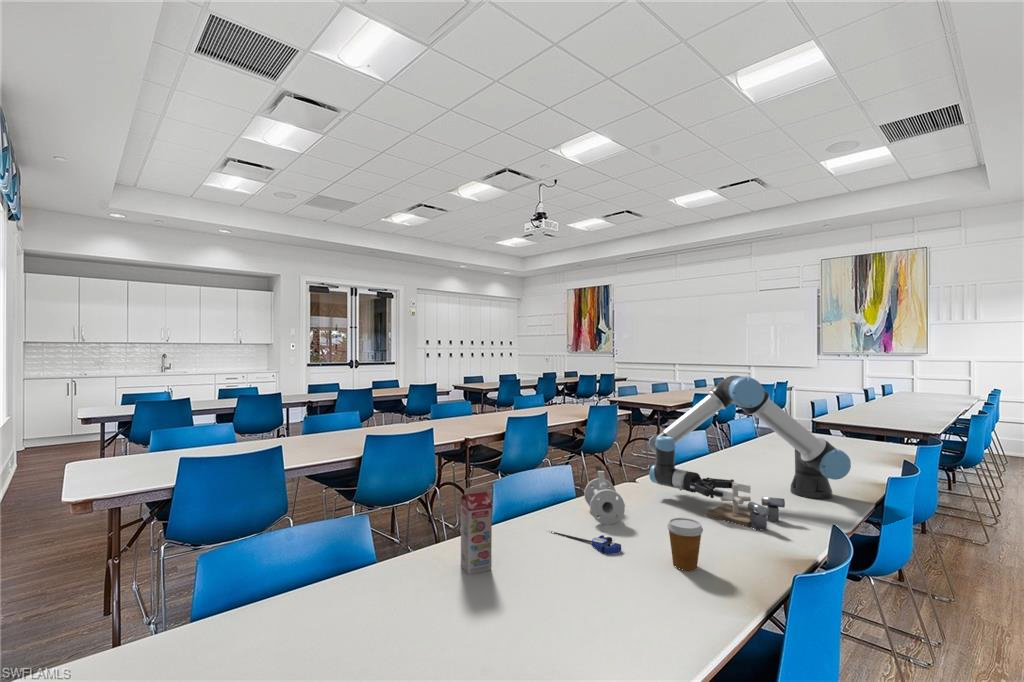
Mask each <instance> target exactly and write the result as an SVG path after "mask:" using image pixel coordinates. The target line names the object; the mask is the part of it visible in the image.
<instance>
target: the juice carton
mask: <svg viewBox="0 0 1024 682" xmlns="http://www.w3.org/2000/svg"><path fill="white" fill-rule="evenodd" d="M492 503H493V502H492V499H491V497H490V495H489V493H488V485H485V486H476V487H467V488H464V494H463V495H461V497H460V565H461V567H462V568H463V570H464V571H465V572H466V574H467V575H472V574H473V575H474V574H477V573H483V571H484V572H489V571H492V541H493V540H492V528H493V527H492V523H493V522H492V521H493V519H492V516H493V515H492V510H493V509H492V508H493V507H492V506H493V504H492ZM488 570H489V571H488Z"/></svg>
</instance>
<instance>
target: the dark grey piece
mask: <svg viewBox="0 0 1024 682" xmlns="http://www.w3.org/2000/svg"><path fill="white" fill-rule="evenodd" d="M747 509H749V510H751V511H753V512H750V526H749V528H751V527H752V528H751V529H753V528H754V529H756V530H755V531H761V530H760V529H767V528H768V527H767V524H768V523H767V520H768V518H767V516H768V515H769V510H768V509H767V507H766V506H762V504H759V503H756V502H754V501H748V503H747ZM754 529H753V530H754Z"/></svg>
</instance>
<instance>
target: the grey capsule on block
mask: <svg viewBox="0 0 1024 682" xmlns="http://www.w3.org/2000/svg"><path fill="white" fill-rule="evenodd" d="M785 503H786V502H785V498H778V497H769V496H761V506H763V507H766V508H767V509H768V510H769V515H768V516H767V520H768V522H769V523H775V522H778V523H777V524H779V523H780V522H779V521H780V518H779V517H780V515H779V514H780V510H779V508H785V507H786V504H785Z"/></svg>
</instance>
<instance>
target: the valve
mask: <svg viewBox="0 0 1024 682" xmlns="http://www.w3.org/2000/svg"><path fill="white" fill-rule="evenodd" d="M594 469H595V470H596V471H595V472H596V473H598V474H597V475H598V477H597V478H594V479H592V480H590V481H589V482H588V483H587V484H586V486H585V487H584V500H585V502H586V504H587V505H588V506H589V509H590V510H589V511H590V513H591V515H592V516H593V518H594V520H595V522H598V523H600V524H601V525H605V524H607V525H608V524H609V525H610V526H611V525H614V524H616V523H617V522H619V521H620V520H621V519H622V518H623V517H624V514H625V511H626V509H625V508H626V504H625V502H624V499H623V497H622V496H621V494H620V493H618V492H617V491H616V487H615V486H614V485H613V483H612V482H611V481H609V480H608V479H606V476H605V471H604V469H603V468H602V466H601V465H600V466H599V465H598V466H594ZM616 516H617V517H616ZM609 525H608V526H609Z"/></svg>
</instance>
